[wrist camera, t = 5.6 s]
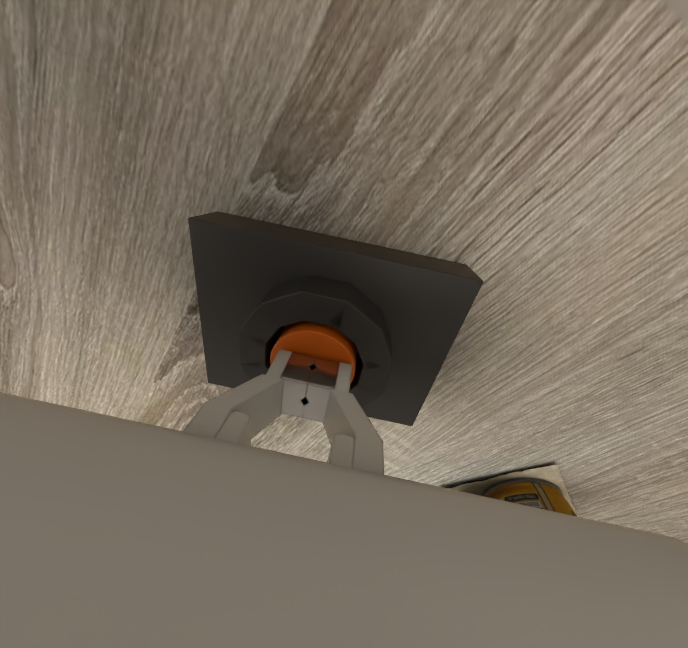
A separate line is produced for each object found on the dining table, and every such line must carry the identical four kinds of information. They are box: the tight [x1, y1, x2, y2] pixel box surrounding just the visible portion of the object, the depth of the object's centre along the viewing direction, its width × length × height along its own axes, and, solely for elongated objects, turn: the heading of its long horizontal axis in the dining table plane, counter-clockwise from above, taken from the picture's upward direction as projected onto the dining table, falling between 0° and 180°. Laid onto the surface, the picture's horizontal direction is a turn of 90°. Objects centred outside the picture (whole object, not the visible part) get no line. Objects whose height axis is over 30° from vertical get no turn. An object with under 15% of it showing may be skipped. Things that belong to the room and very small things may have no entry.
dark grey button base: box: [188, 212, 483, 426], centre depth 13 cm, size 12×9×4 cm
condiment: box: [448, 464, 577, 517], centre depth 16 cm, size 7×8×12 cm
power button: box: [270, 321, 357, 384], centre depth 11 cm, size 4×4×2 cm
